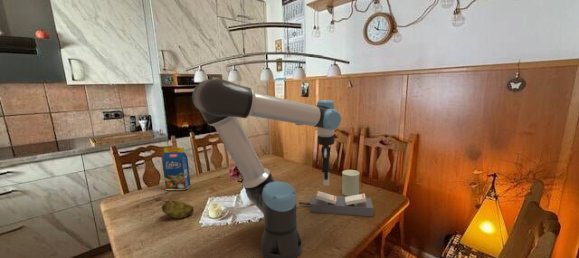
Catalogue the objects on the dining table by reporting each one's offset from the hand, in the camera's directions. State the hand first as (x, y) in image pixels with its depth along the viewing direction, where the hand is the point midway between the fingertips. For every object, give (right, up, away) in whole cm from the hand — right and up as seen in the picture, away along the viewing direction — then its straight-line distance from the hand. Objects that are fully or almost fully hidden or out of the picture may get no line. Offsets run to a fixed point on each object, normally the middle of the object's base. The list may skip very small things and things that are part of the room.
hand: (326, 185), depth 115 cm
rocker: (0, -6, +1) cm, 6 cm away
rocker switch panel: (+4, -12, +3) cm, 13 cm away
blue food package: (-83, -10, +32) cm, 89 cm away
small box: (+13, -6, -2) cm, 14 cm away
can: (+16, -9, +20) cm, 27 cm away
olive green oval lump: (-69, -15, +1) cm, 70 cm away
